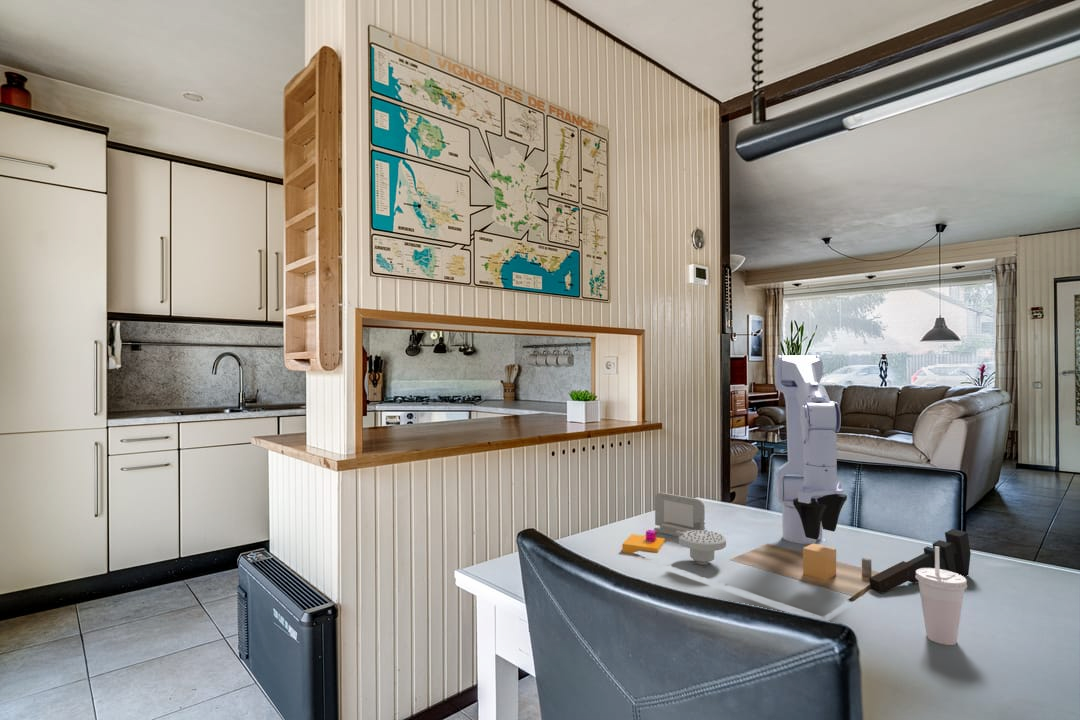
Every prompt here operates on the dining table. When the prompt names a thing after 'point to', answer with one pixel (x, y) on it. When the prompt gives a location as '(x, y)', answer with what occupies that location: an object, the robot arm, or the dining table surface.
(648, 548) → the orange block with knob
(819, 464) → the robot arm
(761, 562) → the board
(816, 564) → the orange wooden toy cube
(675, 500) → the handheld gaming console
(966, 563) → the adjustable wrench
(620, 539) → the dining table surface
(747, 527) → the dining table surface
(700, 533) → the showerhead
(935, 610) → the smoothie
